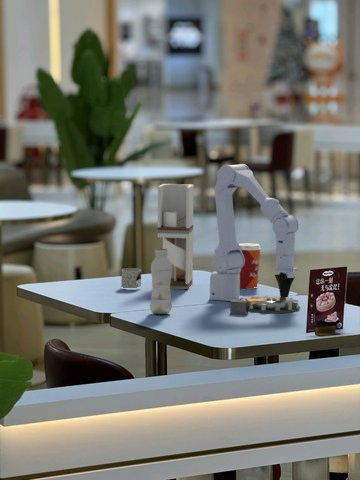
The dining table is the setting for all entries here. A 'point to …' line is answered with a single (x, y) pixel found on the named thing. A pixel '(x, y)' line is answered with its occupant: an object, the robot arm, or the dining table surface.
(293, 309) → the sprocket mat
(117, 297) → the dining table surface
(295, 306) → the sprocket
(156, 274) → the plastic bottle
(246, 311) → the link block
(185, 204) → the display case
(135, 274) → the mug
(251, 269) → the coffee cup
